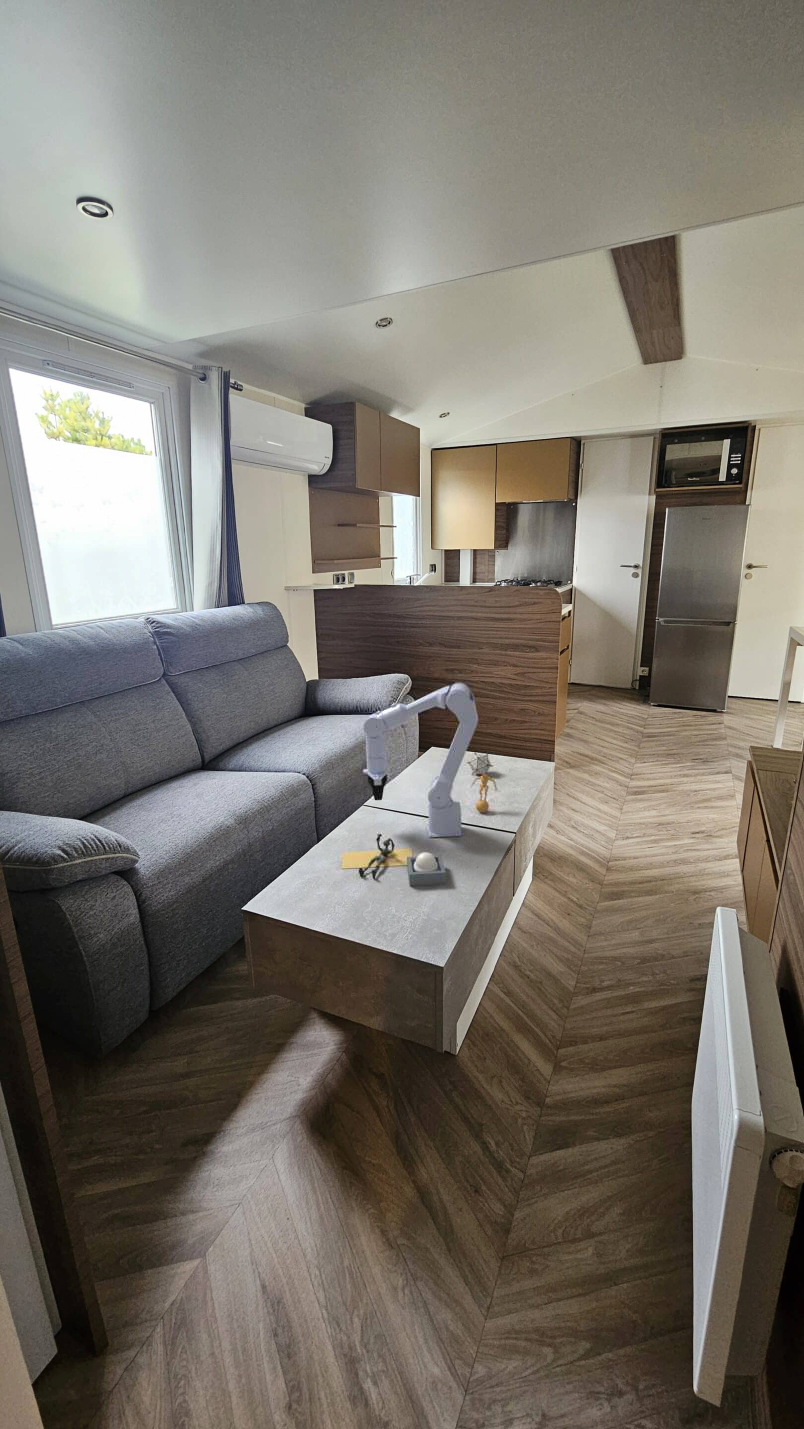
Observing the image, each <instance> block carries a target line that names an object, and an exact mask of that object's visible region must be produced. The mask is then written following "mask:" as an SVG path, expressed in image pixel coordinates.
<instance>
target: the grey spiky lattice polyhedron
mask: <svg viewBox="0 0 804 1429" xmlns="http://www.w3.org/2000/svg"><path fill="white" fill-rule="evenodd" d="M466 763H467V764H468V765H469V767H470V768H471V771H472V773H471V776H473V775H475V774H476V775H481V776H483V774H486V775H487V772H488V771H489V770H490V768H491V767H492V768H493V767H494V765H492V764H491V762H490V759H489V753H487V754H480V753H479V754H478V753H477V752H474V755H473V757H472V758H471V760H470V761H467V762H466Z"/></svg>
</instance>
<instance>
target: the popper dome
mask: <svg viewBox="0 0 804 1429" xmlns="http://www.w3.org/2000/svg"><path fill="white" fill-rule="evenodd" d="M417 856H418V857H417V858H416V862H415V863H414V872H427V871H438V864H437V862H436V860H435V858H434V855H433V854H432V853H430V852H427V851H426V852H424V851H423V852H421V853H419V854H418V855H417Z"/></svg>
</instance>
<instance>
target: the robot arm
mask: <svg viewBox="0 0 804 1429" xmlns="http://www.w3.org/2000/svg"><path fill="white" fill-rule="evenodd" d="M390 706H391V707H388V708H387V709H384V710H382V711H381V710H378V711H376V713H372V714H370V715H369V716H368V718H367V719H366V720H365V721H364V724H363V725H362V726H363V732H364V733H365V754H366V768H365V769H363V770H362V773H363V774H365V775H367V782H368V784H369V785H370V788H371V791H372V795H373V799H374V801H382V800H383V796H384V790H385V789H384V788H385V786H386V784H387V782H388V772H389V771H388V764H387V740H386V732H385V731H390V730H393V729H394V728H397V727H399V726H401V725H404V724H407V723H409V721H410V719H411V717H412V716H414V715H417V714H419V713H422V712H424V711H427V710H429V709H432V708H434V707H437V708H440V709H443V710H445V709H446V707H447V708H448V709H449V710H450V711H451V712H452V713H453V714H454V715H455V716H456V717H457V721H458V722H459V724H458V727H457V729H456V732H455V735H454V737H453V739H452V742H451V744H450V747H449V749H448V750H447V754H446V757H445V760H444V762H443V763H442V766H441V768H440V770H439V772H438V775H437V776H436V777H435V778H433V780H432V781H431V784H430V785H431V786H430V790H429V791H428V795H427V799H428V802H427V803H428V804H427V805H428V810H427V811H428V823H427V824H426V825H425V826H426V830H427V835H428V837H429V838H443V837H461V836H462V835H463V834H462V808H461V802H459V801H454V800H453V798H452V796H451V795H452V790H453V786H454V782H455V779H456V776H457V774H458V771H459V769H460V766H461V764H462V761H463V759H464V757H465V754H466V752H467V750H468V747H469V744H470V743H471V740H472V738H473V735H474V733H475V730H476V728H477V725H478V722H479V716H478V710H477V707H476V702H475V696H474V694H473V692H472V691H471V688H469V686H468V685H467V684H465V683H462V682H455V683H454V684H452V685H451V686H450V685H448V686H447V685H446V686H444V687H442V688H440V689H437V690H435V691H432V692H431V693H429V694H426V695H425V696H423V697H421V698H419V699H417V700H414V701H412V702H411V703H409V704H404V703H397V702H394V703H392V704H391V705H390Z"/></svg>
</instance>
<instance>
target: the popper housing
mask: <svg viewBox="0 0 804 1429" xmlns="http://www.w3.org/2000/svg"><path fill="white" fill-rule="evenodd" d="M433 856H434V858H435V860H436V862H437V864H438V871H427V872H414V863H415V862H416V858H417V857H418V855H417V856H416V855H415V856H413V857H407V865H406V871H407V878H408V884H409V885H408V886H409V887H420V886H422V887H423V886H435V885H436V886H437V885H446V884H447V874H446V873H447V872H446V868H445V864H444V860H443V857H442V854H438V855H437V854H436V855H433Z"/></svg>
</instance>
